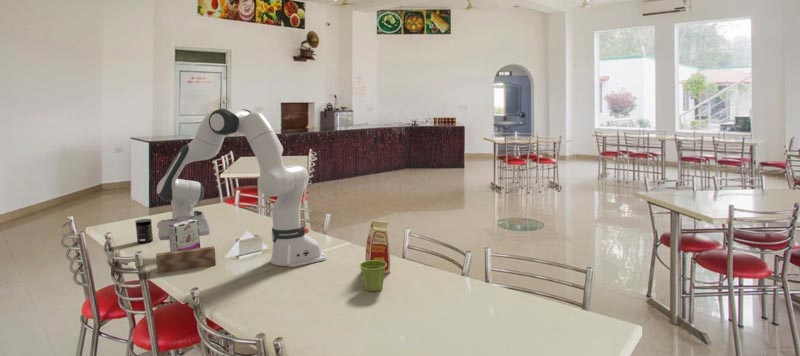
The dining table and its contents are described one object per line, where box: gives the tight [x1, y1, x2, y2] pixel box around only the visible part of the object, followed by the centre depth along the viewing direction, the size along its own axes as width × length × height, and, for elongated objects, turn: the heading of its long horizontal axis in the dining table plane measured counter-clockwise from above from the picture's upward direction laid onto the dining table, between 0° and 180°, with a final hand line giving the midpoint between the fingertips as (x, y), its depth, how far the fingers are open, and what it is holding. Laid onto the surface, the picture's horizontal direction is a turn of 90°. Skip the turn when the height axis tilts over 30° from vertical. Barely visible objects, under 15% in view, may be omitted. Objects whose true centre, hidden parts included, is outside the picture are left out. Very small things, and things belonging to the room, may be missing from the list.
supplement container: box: [135, 218, 154, 244], centre depth 226 cm, size 7×7×10 cm
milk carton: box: [365, 219, 391, 274], centre depth 184 cm, size 9×9×20 cm
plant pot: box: [358, 260, 387, 292], centre depth 166 cm, size 9×9×9 cm
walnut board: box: [155, 246, 217, 274], centre depth 189 cm, size 21×3×7 cm, turn 115°
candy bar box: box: [168, 219, 201, 252], centre depth 197 cm, size 11×5×16 cm, turn 153°
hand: (185, 245), depth 202 cm, fingers closed
